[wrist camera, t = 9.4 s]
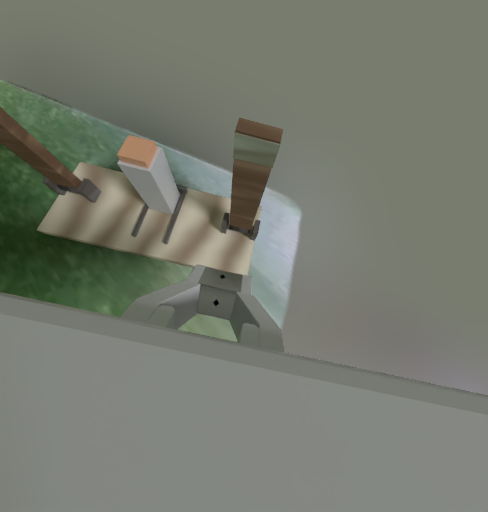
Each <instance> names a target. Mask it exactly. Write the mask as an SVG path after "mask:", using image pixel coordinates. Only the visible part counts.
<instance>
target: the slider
mask: <svg viewBox="0 0 488 512" xmlns="http://www.w3.org/2000/svg"><path fill="white" fill-rule="evenodd" d="M117 156H118V157H119V158H120V159H119V161H118V163H117V164H118V166H119V167H120V168H121V170H122V171H123V172H124V174H125V175H126V177H127V178H128V179H129V181H130V182H131V184H132V185H133V186H134V188H135V189H136V190H137V192H138V193H139V195H140V196H141V197H142V199H143V200H144V201H145V203H146V204H147V206H148V207H149V208H150V209H151V210H155V211H160V212H164V213H168V214H172V215H173V213H174V211H175V208H176V205H177V203H178V200H179V198H180V194H179V191H178V189H177V186H176V183H175V181H174V178H173V176H172V173H171V170H170V168H169V165H168V162H167V160H166V157H165V154H164V152H163V149H162V147H158V146H156V144H155V142H153V141H150V140H146V139H142V138H138V137H134V136H130V135H128V137H127V138H126V140H125V142H124V144H123V145H122V147H121V149H120V151H119V153H118V154H117Z"/></svg>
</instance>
